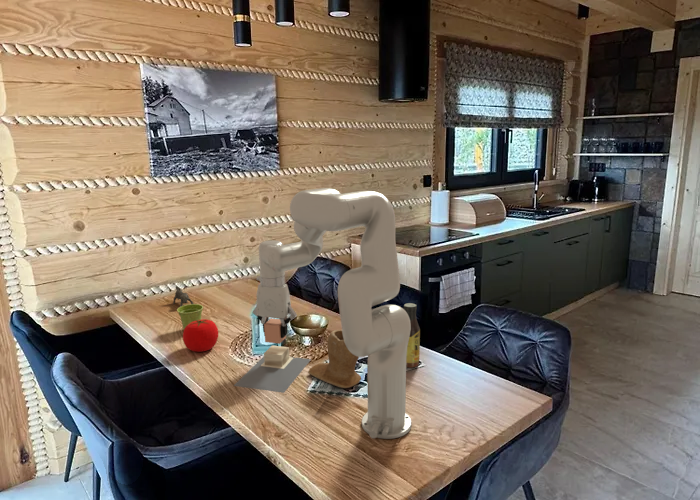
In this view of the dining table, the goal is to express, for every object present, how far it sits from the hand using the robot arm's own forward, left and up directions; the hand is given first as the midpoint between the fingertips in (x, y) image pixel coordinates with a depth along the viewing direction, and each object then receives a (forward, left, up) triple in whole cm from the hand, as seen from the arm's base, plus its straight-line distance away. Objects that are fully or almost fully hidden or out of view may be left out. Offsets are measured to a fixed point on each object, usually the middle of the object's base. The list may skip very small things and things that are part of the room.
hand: (275, 334), depth 158 cm
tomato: (+5, +30, -11) cm, 33 cm away
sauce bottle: (+11, -41, -10) cm, 44 cm away
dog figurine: (+43, +64, -11) cm, 78 cm away
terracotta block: (0, 0, -2) cm, 2 cm away
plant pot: (+19, +44, -11) cm, 49 cm away
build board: (-7, -2, -10) cm, 12 cm away
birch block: (0, 0, -9) cm, 9 cm away
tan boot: (-4, -22, -11) cm, 25 cm away
